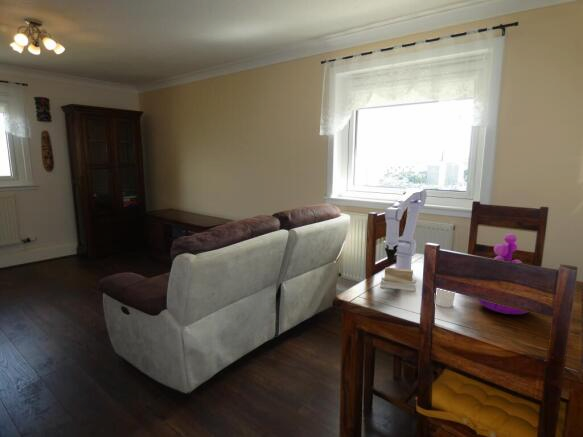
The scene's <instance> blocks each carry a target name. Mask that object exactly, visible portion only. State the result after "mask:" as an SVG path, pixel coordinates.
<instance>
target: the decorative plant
mask: <svg viewBox="0 0 583 437" xmlns="http://www.w3.org/2000/svg"><path fill="white" fill-rule="evenodd" d="M503 238H504V242H505V243H507V244H505V243H498V244H496V245H494V247H493V252H494V254H495V255H497V256H495V257H494V258H493V260H494V259H499V260H504V261H511V262H516V263H522V264H523V262H522V261H521V260H519V259H513V260H512V256H513V253H514V252H515V251H517V250H518V244H516V243H517V240H518V239H517V236H516V235H515V234H514V233H507V234H506V235H505V236H504V237H503ZM477 301H478V302H479V303H480V305H482V306H483V307H485V308H487V309H489V310H491V311H493V312H497V313H501V314H505V315H523V314H526V313H528V312H527V311H523V310H519V309H515V308H511V307H507V306H502V305H498V304H494V303H490V302H486V301H482V300H479V299H477Z"/></svg>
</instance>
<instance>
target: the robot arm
mask: <svg viewBox="0 0 583 437" xmlns="http://www.w3.org/2000/svg"><path fill="white" fill-rule="evenodd" d="M427 196H428V195H427V190H426V189H424V188H409V187H406V189H405V190H404V194H403V196H402V198H401V199H397V201H396V202H395V203H394V204H393V205H392V206H390V207H387V208H386V209H385V212H384V218H385V223H386V230H385V232H386V233H385V240H383V241H382V243H383V244H385V246H386V247H384V251H385V253H386V256H387V263H389V264H393V263H394V261H395V256H396V267H395V268H397V269H407V270H411V269H412V262H413V261H412V260H413V257H414V256H415V254H416V252H417V246H418V245H417V240H415V239H414V238H413V237H414V235H415V232H416V231H415V230H416V226H417V223H418V220H419V216H420V212H421V208H423V207H424V206H425V205H426V204H425V203H426V201H427ZM408 207H409V212H408V215H407V219H406V223H405V225H404V226H405V227H404V229H403V232H402V235H401V236H400V235H399V234H400V221H401V220H402V217H403V215H404V212H405V211H406V210H407V208H408Z"/></svg>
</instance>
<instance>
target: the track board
mask: <svg viewBox="0 0 583 437" xmlns="http://www.w3.org/2000/svg"><path fill="white" fill-rule="evenodd" d="M384 279H385V276H381V279H380V284H379V285H380V288H388V289H395V290H404V291H411V292H412V291H413V292H416V287H417V285H416V282H417V281H416V280H412V284H407V283H398V282H389V281H384Z"/></svg>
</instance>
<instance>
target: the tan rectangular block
mask: <svg viewBox="0 0 583 437" xmlns="http://www.w3.org/2000/svg"><path fill="white" fill-rule="evenodd" d="M413 273H414V270H413V269H412V270H407V269H397V268H396V267H385V268H384V277H385V279H384V281H389V282H398V283H407V284H412V281H413V275H414V274H413Z"/></svg>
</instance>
